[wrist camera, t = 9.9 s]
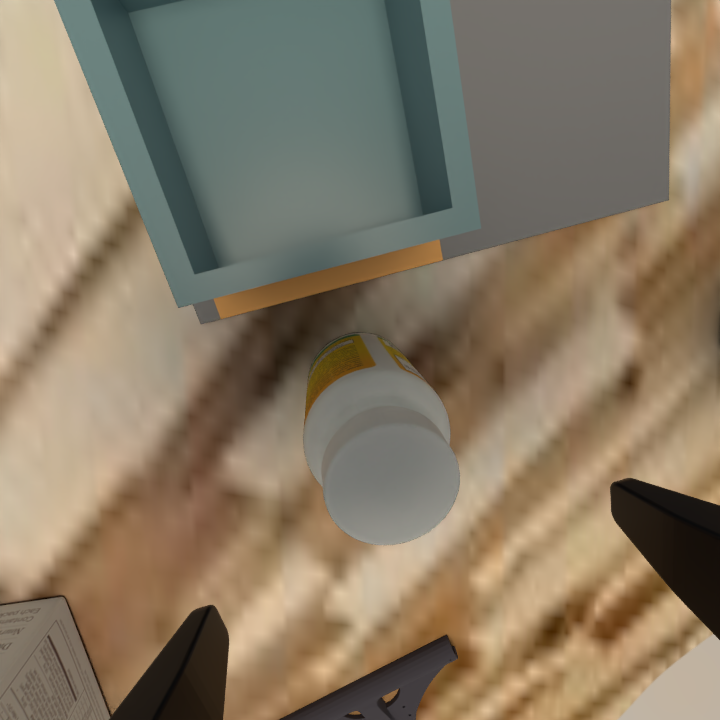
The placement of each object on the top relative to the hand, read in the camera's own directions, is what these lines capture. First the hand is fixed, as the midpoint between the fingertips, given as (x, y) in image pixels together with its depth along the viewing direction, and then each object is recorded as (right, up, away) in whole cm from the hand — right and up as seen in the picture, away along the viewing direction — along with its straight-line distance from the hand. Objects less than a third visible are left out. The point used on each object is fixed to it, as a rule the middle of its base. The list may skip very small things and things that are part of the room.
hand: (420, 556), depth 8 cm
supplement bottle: (-1, +3, +12) cm, 12 cm away
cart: (-4, +13, +8) cm, 16 cm away
